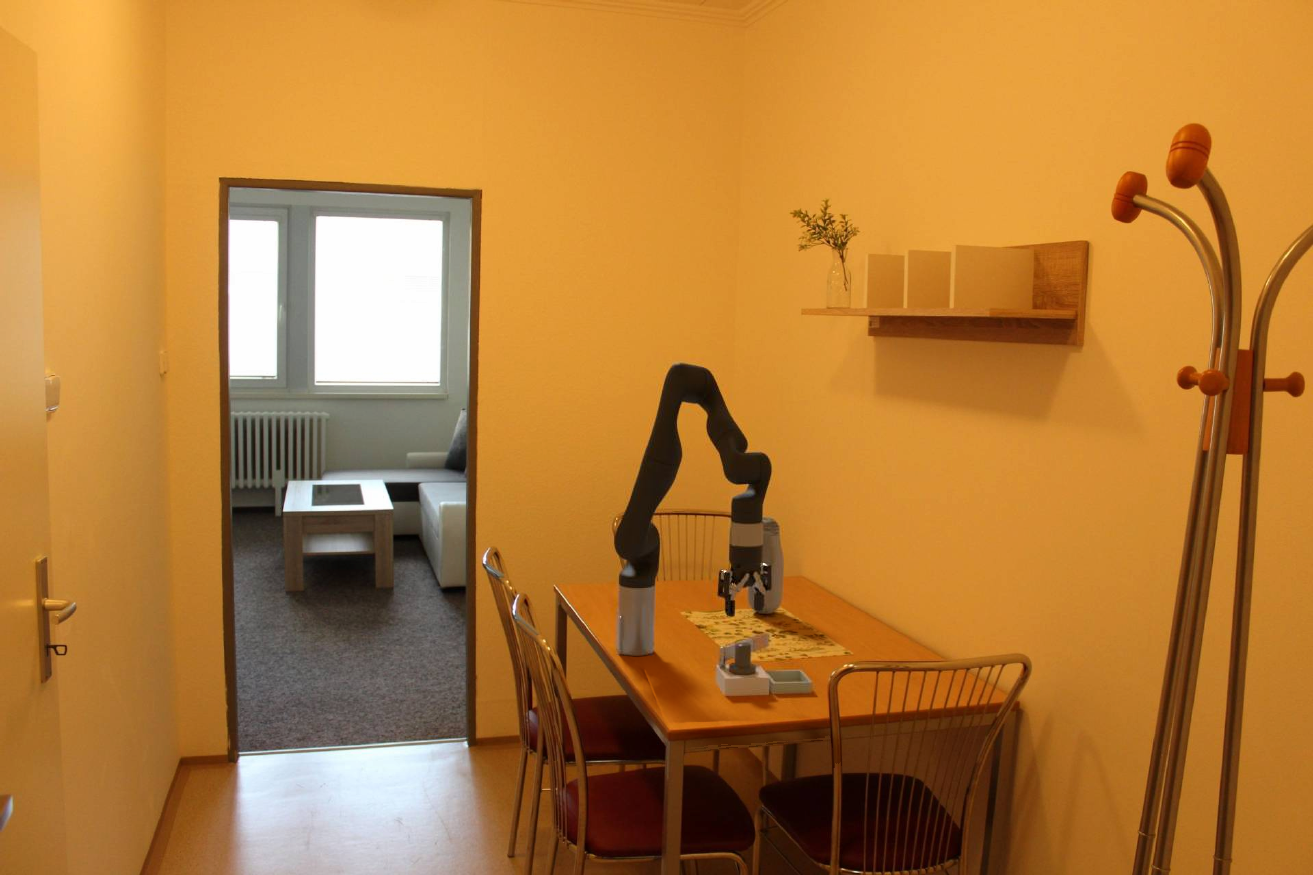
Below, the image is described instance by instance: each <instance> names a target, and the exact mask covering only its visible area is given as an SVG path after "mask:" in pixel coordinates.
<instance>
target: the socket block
mask: <svg viewBox="0 0 1313 875" xmlns="http://www.w3.org/2000/svg"><path fill="white" fill-rule="evenodd" d="M753 664H754V665H755V666H756V673H754V674H752V675H734V674H733V673H731V672H729V664H726V668H719V664H716V665H715V683H716V684H717V686H718V688H719V689H720V691H721V692H722V694H723V695H724V697H732V696H733V697H734V696H735V697H736V696H737V697H738V696H739V697H740V696H770V689H769V676H768V675H767V674H766V672H765V671H766V670H764V669H763V667H762V666H761V664H759V663H753Z"/></svg>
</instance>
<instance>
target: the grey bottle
mask: <svg viewBox="0 0 1313 875" xmlns="http://www.w3.org/2000/svg"><path fill="white" fill-rule="evenodd" d="M762 524H763V561H762V563H764V564H768V565H771V580H772V589H771V590H770V591H767V592H766V593H765V594H764V607H763V610H762V611H757V610H755V609H754V593H756V592H755V591H754V589H753V588H752V587H750V586H748V587H746V589H747V595H746V596H747V601H748V604H749V606H750V608H751V609H752V610H753V611H754V612H756V613H758V614H761V615H770V614H773V613H775V612H777V610H778V609H779V608H780V606H781V604H782V600H783V588H784V585H783V584H784V572H785V571H784V569H785V568H784V565H785V563H784V553H783V552H784V551H783V549H782V543H781V535H780V533H781V532H780V525H779V523H778V521H776V520H775V519H774V518H771V517H763V518H762ZM759 578H760V575H759Z"/></svg>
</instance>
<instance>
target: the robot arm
mask: <svg viewBox="0 0 1313 875" xmlns="http://www.w3.org/2000/svg"><path fill="white" fill-rule="evenodd" d="M683 403H688V404H694V405H695V404H696V405H699V407H701V408H702V409H703V411H705V413H706V416H707V417H706V425H705V426H706V428H705V430H706V434H707V436H708V438H709V440H710V441H711V443H712V445H713V447H715V450H716V451H717V453H718V454H719V458H720V462H721V465H722V470H723V475H724V476H725V478H726V480H727V481H729V483H731V484H733V485H740V486H741V485H748V486H747V487H746V490H745V491H744V492H742V493H739V494H736V495H734V496H733V497H732V499H731V504H730V527H729V534H728V535H729V540H728V541H729V542H728V543H729V544H728V561H729V563H730V568H729V570H723V569H720V570H719V572H718V578H717V579H718V583H717V584H718V585H717V597H719V598H722V599H724V613H725V615H726V616H727V617H731V618H732V617H735V615H736V600H735V599H736V597H737V595H738V593H740V592H741V591H742V589H745V588H746V589H747V587H748V586H750V587H752V588H753V589H754V591H755V592H756V593H754V609H755V610H757V611H762V610H763V607H764V594H765V593H766V592H767V591H770V590H771V589H772V580H771V565H768V564H764V563H762V561H763V524H762V518H763V515H764V514H763V510H764V507H763V506H764V503H765V502H764V501H765V498H766V494H767V491H768V489H769V484H770V481H771V478H772V471H773V470H772V468H773V467H772V466H773V465H772V462H771V459H770V458H769V456H768V454H766V453H765V452H762V451H753V452H752V451H751V452H747V450H748V446H749V442H748V440H747V438H746V436H745V433H743V431H742V429H741V428H740V427H739V426H738V424H737V423H736V421H735V420H734V418H733V416H732V414H731V413H730V411H729V409H728V407H727V404H726V401H725V399H724V397H723V394H722V392H721V390H720V388H719V385H718V383H717V380H716V378H715V376H714V375H713V373H712V371H711V370H709V369H708V368H706V367H704V366H700V365H695V364H691V363H685V362H676V363H673V364H672V365H671V366H670V368H669V369H668V371H667V373H666V375H665V378H664V381H663V386H662V390H661V395H660V399H659V404H658V409H657V411H656V415H655V421H654V423H653V426H652V430H651V433H650V436H649V439H648V442H647V445H646V448H645V450H644V453H643V457H642V459H641V462H640V465H639V466H640V467H639V469H638V474H637V476H636V479H635V483H634V485H633V487H632V491H631V495H630V498H629V500H628V504H627V506H626V508H625V510H624V512H623V515H622V516H621V520H620V522H619V524H618V527H617V528H616V530H615V534H614V538H613V546H614V550H615V552H616V554H617V555H618V556H619V558H621V559H623V560H624V561H626V563H625V565H624V567H623V568H622V569H621V571H620V572H619V574H618V604H617V605H618V606H617V607H618V608H617V612H616V649H617V650H616V651H617V653H618V654H619V655H627V656H634V657H635V656H636V657H638V656H647V655H650V654H653V653H654V651H655V611H656V607H655V605H656V604H655V603H656V578H657V576H658V573H659V570H660V569H659V568H660V554H661V552H660V551H661V538H660V537H661V536H660V532H659V530H658V527H657V526H656V525H655V524H654V523H653V522H652V519H653V517H654V514H655V512H656V511H657V509H658V507H659V505H660V504H661V502H663V500H664V498H666V496H667V494H668V492H669V491H670V490H671V488H672V486H673V484H674V483H675V481H676V479H677V475H678V472H679V469H680V466H681V463H682V459H683V447H682V442H681V437H680V434H679V430H678V418H679V414H680V413H679V412H680V409H681V406H682V404H683ZM759 575H760V578H759Z"/></svg>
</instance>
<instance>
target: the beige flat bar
mask: <svg viewBox="0 0 1313 875" xmlns="http://www.w3.org/2000/svg"><path fill="white" fill-rule="evenodd" d="M736 643H749V644H751V653H755V652H757V651H760V650H764V649H766V648H768V647H770V644H769V643H770V634H769V633H767V632H762V633H759V634H756V635H752V636H750V637H748V638H745V639H742V640H739V641H736V642H734V643H729V644H727V645H725V646H719V649H718V651H719V652H718V653H719V654H718V665H719V668H726V665H727V661H729V660H732V659H735V644H736Z"/></svg>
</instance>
